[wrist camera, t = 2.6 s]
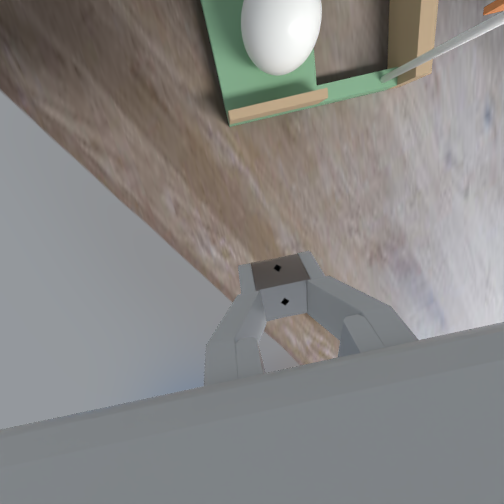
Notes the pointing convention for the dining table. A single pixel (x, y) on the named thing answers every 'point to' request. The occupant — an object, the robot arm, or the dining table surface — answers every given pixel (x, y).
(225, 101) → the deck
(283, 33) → the ball
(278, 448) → the robot arm
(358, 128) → the dining table surface
